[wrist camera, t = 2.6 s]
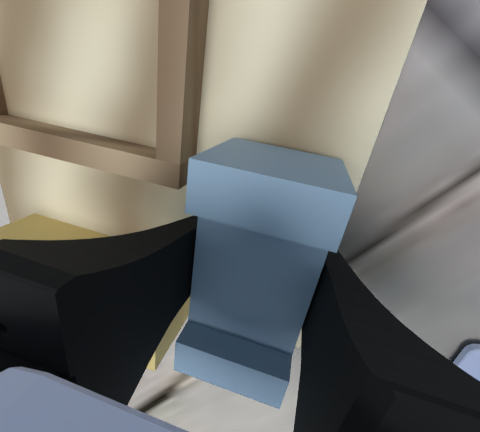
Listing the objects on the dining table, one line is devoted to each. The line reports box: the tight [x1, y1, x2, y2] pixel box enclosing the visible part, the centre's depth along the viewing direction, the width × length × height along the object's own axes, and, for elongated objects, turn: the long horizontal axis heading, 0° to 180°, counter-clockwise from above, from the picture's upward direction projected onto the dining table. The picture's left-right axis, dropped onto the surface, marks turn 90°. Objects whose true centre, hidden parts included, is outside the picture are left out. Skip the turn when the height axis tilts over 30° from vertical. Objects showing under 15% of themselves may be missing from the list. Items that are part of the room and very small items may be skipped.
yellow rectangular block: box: [0, 213, 190, 371], centre depth 13 cm, size 10×3×4 cm, turn 80°
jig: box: [0, 0, 427, 348], centre depth 12 cm, size 18×16×2 cm
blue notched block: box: [174, 138, 357, 409], centre depth 10 cm, size 8×4×4 cm, turn 170°
